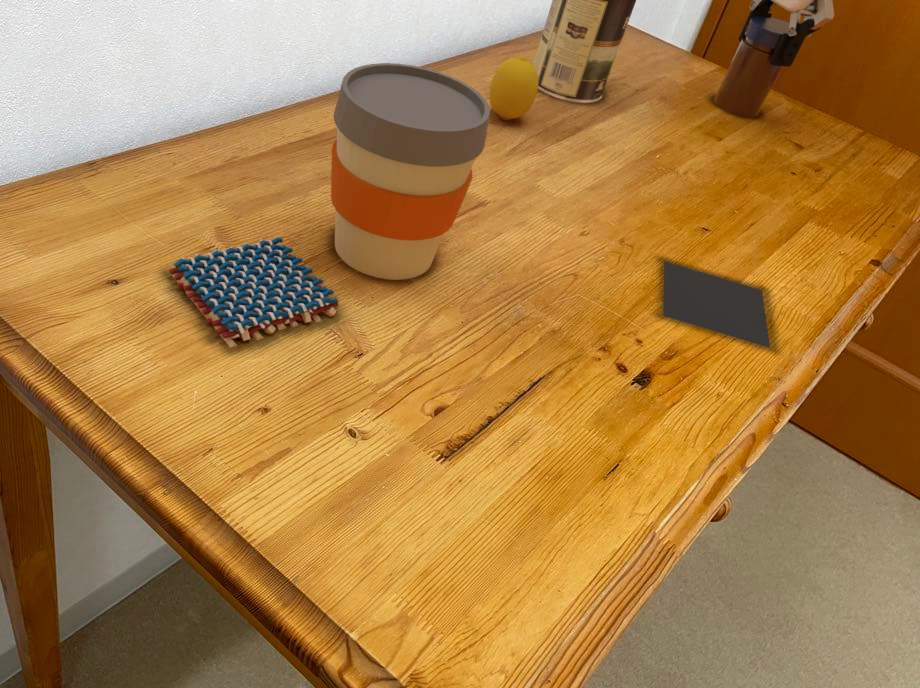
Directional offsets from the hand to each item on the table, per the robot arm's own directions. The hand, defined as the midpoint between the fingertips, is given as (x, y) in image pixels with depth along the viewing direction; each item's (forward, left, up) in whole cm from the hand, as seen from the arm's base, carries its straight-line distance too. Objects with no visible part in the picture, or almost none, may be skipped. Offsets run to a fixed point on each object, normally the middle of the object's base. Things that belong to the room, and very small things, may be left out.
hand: (764, 52), depth 115 cm
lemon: (+30, +26, -8) cm, 41 cm away
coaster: (+5, +54, -8) cm, 55 cm away
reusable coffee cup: (+36, +62, -8) cm, 72 cm away
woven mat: (+44, +74, -8) cm, 87 cm away
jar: (0, 0, -8) cm, 8 cm away
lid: (0, 0, +3) cm, 3 cm away
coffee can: (+24, +10, -8) cm, 28 cm away
